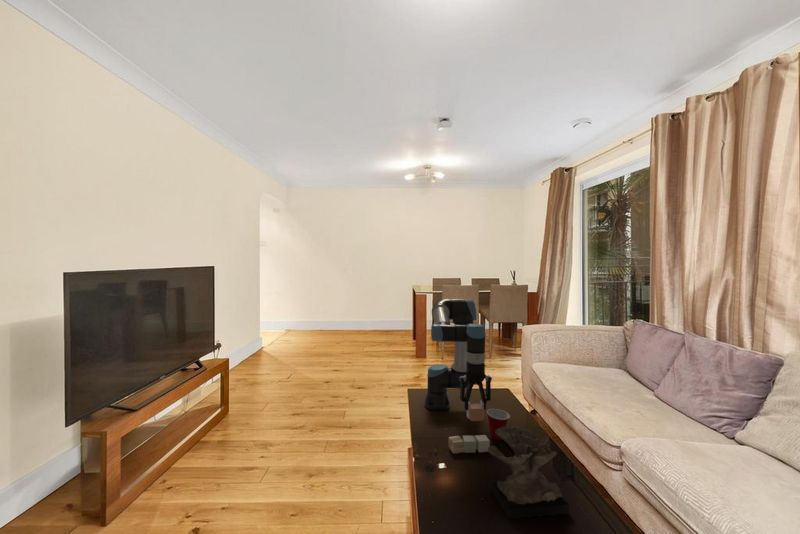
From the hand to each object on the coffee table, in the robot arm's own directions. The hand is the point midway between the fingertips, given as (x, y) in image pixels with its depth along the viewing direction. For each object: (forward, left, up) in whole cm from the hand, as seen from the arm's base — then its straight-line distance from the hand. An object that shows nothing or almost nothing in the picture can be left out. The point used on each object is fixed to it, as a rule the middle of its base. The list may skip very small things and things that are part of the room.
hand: (475, 417), depth 139 cm
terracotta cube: (0, 0, 0) cm, 0 cm away
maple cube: (-11, -5, -20) cm, 23 cm away
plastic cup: (-20, +18, -20) cm, 33 cm away
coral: (+20, +11, -20) cm, 30 cm away
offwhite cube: (-11, +7, -20) cm, 24 cm away
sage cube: (-11, +1, -20) cm, 23 cm away
